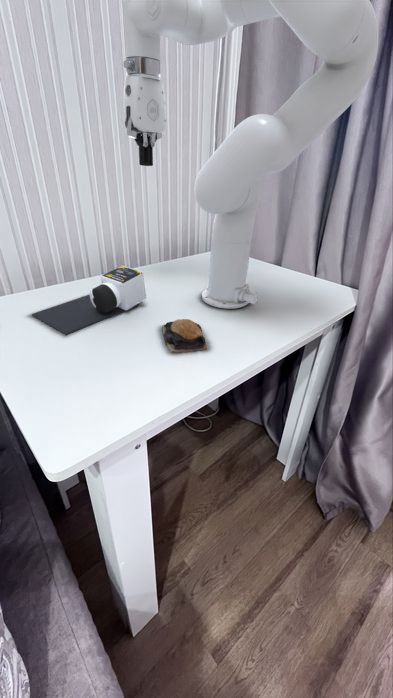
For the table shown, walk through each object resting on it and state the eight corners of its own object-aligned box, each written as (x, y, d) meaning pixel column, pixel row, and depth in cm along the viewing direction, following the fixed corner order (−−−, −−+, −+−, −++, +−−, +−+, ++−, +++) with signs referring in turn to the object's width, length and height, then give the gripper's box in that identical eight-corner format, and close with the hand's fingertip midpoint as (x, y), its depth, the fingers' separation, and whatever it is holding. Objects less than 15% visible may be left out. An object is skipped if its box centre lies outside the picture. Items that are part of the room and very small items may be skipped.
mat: (137, 305, 81) (137, 304, 81) (65, 335, 68) (65, 333, 67) (103, 291, 88) (103, 289, 88) (31, 315, 74) (31, 313, 74)
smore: (159, 328, 72) (159, 312, 70) (197, 325, 74) (197, 310, 72) (168, 354, 64) (168, 337, 62) (210, 349, 65) (211, 333, 64)
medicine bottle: (143, 271, 77) (104, 292, 70) (147, 298, 82) (110, 320, 74) (122, 265, 81) (82, 284, 73) (126, 291, 85) (90, 311, 78)
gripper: (129, 63, 67) (134, 167, 76) (178, 76, 77) (176, 166, 87) (105, 66, 70) (113, 164, 80) (154, 78, 81) (156, 164, 90)
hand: (146, 165), depth 83 cm, fingers closed
